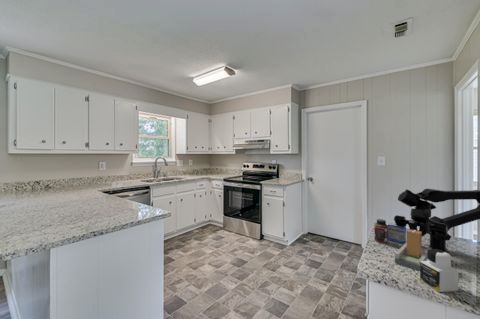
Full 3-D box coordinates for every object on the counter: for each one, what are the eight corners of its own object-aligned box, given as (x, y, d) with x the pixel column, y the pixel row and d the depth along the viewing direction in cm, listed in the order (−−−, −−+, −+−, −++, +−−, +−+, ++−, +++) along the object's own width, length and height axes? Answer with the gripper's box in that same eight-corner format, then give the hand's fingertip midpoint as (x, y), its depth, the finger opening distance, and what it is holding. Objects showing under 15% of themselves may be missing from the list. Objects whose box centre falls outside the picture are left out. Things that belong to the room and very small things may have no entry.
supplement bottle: (390, 244, 111) (390, 222, 110) (377, 243, 112) (377, 221, 112) (384, 239, 116) (385, 218, 116) (372, 238, 118) (372, 218, 117)
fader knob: (408, 251, 97) (409, 228, 97) (421, 254, 94) (421, 231, 94) (406, 254, 94) (406, 230, 94) (419, 257, 91) (419, 233, 91)
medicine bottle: (419, 280, 79) (419, 247, 79) (437, 279, 79) (438, 246, 79) (439, 292, 72) (439, 256, 71) (458, 291, 72) (459, 255, 72)
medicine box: (387, 240, 115) (387, 224, 115) (387, 238, 119) (387, 222, 119) (405, 244, 111) (406, 227, 111) (405, 241, 114) (405, 224, 114)
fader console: (406, 249, 104) (406, 241, 104) (431, 256, 97) (431, 247, 97) (395, 262, 91) (395, 253, 91) (422, 271, 85) (422, 261, 84)
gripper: (395, 198, 107) (387, 225, 100) (447, 205, 93) (442, 237, 86) (399, 212, 112) (392, 238, 106) (449, 220, 98) (445, 251, 91)
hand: (416, 240), depth 97 cm, fingers closed
